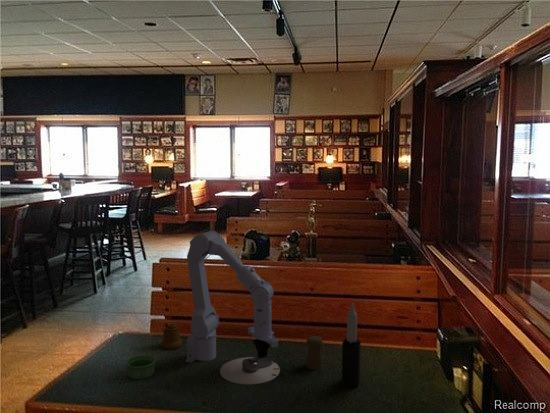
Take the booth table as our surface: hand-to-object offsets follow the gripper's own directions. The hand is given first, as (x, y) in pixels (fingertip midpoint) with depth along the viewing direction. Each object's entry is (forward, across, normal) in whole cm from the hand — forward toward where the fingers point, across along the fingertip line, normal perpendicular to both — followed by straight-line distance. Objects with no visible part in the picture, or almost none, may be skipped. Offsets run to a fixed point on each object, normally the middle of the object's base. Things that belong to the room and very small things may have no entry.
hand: (262, 361), depth 150 cm
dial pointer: (+1, -1, +3) cm, 3 cm away
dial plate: (+3, -1, +5) cm, 6 cm away
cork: (+3, -10, -13) cm, 17 cm away
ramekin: (+3, +19, +34) cm, 39 cm away
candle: (+3, -23, -17) cm, 29 cm away
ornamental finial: (+3, +34, +17) cm, 39 cm away
